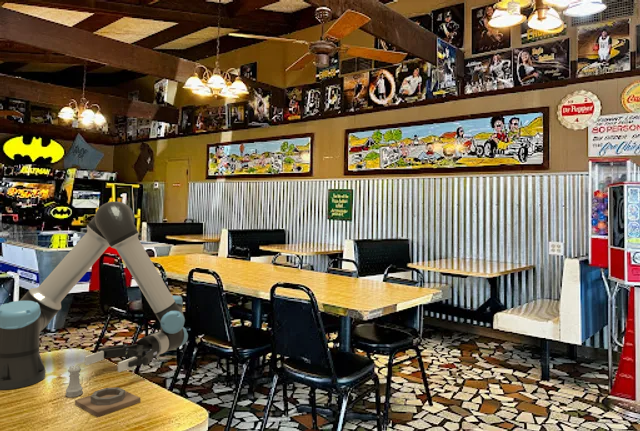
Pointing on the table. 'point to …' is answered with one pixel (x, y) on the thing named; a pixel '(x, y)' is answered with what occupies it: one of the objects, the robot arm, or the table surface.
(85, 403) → the socket board
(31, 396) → the table surface
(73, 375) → the rook chess piece
